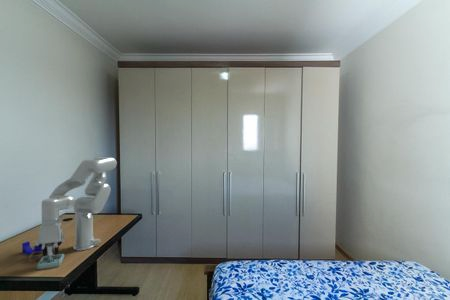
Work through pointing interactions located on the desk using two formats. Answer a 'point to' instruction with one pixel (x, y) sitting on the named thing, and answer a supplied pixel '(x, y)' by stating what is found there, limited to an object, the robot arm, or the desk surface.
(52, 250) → the flashlight
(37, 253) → the socket
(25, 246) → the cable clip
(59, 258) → the tray
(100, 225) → the desk surface
